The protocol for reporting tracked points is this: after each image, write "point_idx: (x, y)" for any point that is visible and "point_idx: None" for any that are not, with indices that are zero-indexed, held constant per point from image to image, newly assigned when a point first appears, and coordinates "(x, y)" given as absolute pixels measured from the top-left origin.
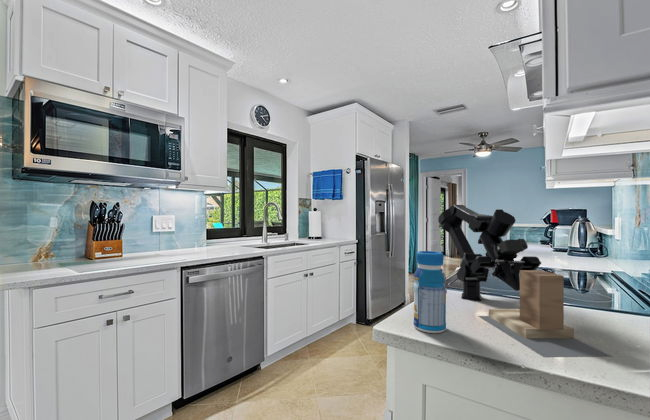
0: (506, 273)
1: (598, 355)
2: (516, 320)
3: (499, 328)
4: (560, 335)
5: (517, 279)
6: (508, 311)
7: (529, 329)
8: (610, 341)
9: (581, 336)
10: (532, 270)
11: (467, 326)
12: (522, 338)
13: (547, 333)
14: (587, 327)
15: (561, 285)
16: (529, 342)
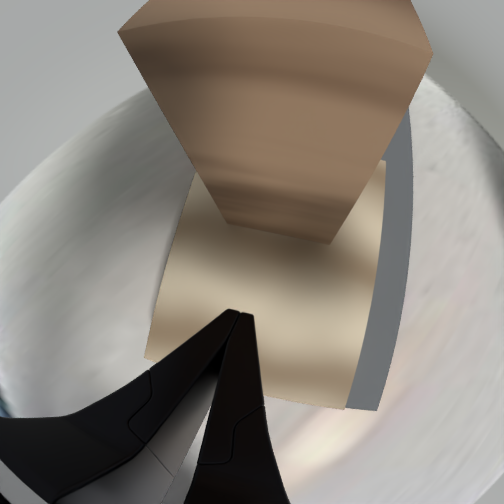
0: (277, 466)
1: None
2: (351, 240)
3: (403, 267)
4: None
5: (187, 364)
6: (278, 358)
7: None
8: (141, 130)
9: (171, 162)
10: (243, 12)
11: (473, 318)
12: (388, 177)
13: None
14: (81, 218)
15: None
16: (388, 152)
